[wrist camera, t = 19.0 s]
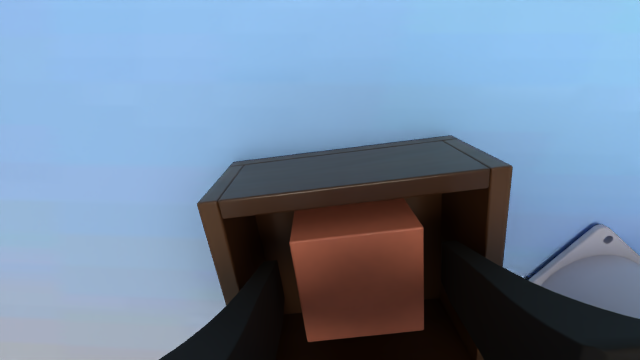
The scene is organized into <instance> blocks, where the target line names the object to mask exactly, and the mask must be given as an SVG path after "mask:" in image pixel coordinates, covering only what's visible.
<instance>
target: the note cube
mask: <svg viewBox="0 0 640 360" xmlns="http://www.w3.org/2000/svg"><path fill="white" fill-rule="evenodd" d="M289 244H290V249H291V255H292V260H293V266H294V271H295V277H296V282H297V287H298V293H299V298H300V304H301V309H302V315H303V320H304V326H305V331H306V337H307V341H308V342H314V341H323V340H333V339H343V338H353V337H362V336H372V335H382V334H392V333H402V332H411V331H421V330H424V228H423V226H422V225H421V223H420V222H419V220H418V219H417V217H416V216H415V214H414V213H413V211H412V210H411V208H410V207H409V205H408V204H407V202H406V201H405V199H404V198H400V199H391V200H382V201H374V202H365V203H357V204H348V205H340V206H331V207H322V208H314V209H305V210H297V211H294V217H293V223H292V229H291V236H290V242H289Z"/></svg>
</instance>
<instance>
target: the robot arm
mask: <svg viewBox="0 0 640 360" xmlns="http://www.w3.org/2000/svg"><path fill="white" fill-rule="evenodd" d="M605 237H606V238H605ZM604 238H605V239H604ZM441 282H442V284H443V287H444V289H445V292H446V294H447V296H448V298H449V301H450V303H451V305H452V306H453V308H454V310H455V311H456V313H457V315H458V316H459V318H460V320H461V322H462V323H463V325H464V327H465V328H466V330H467V332H468V333H469V335H470V337H471V338H472V340H473V342H474V343H475V345H476V347H477V348H478V350H479V352H480V354H481V355H482V357H483V359H484V360H640V256H639V255H638V254H637V253H636V252H635V251H633V250H632V249H631V248H630V247H629V246H628V245H627V244H626V243H625V242H624V241H623V240H622V239H621V238H620V237H618V236H617V235H616V234H615V233H614V232H613V231H612V230H611V229H610V228H608V227H606V226H604V225H601V224H599V225H596V226H594V227H592V228H591V229H590V230H589V231H587V232H586V233H585V234H584V235H582V236H581V237H580V238H579V239H578V240H576V241H575V242H574V243H573V244H572V245H570V246H569V247H568V248H567V249H565V250H564V251H563V252H562V253H561V254H559V255H558V256H557V257H556V258H554V259H553V260H552V261H551V262H550V263H548V264H547V265H546V266H545V267H543V268H542V269H541V270H540V271H539V272H537V273H536V274H535V275H534V276H533V277H531V278H530V279H529V280H526V279H524V278H522V277H520V276H518V275H516V274H514V273H512V272H510V271H508V270H507V269H505V268H503V267H501V266H499V265H497V264H496V263H494V262H492V261H490V260H489V259H487V258H485V257H484V256H482V255H480V254H479V253H477V252H475V251H474V250H472V249H470V248H469V247H467V246H465V245H463V244H462V243H460V242H458V241H447V242H442V257H441ZM284 300H285V297H284V292H283V287H282V282H281V277H280V272H279V267H278V262H277V260H272V261H263V263H262V264H261V265H260V266H259V267H258V269H257V270H256V271H255V273H254V274H253V275H252V276H251V278H250V279H249V280H248V281H247V283H246V284H245V285H244V286H243V288H242V289H241V290H240V291H239V292H238V294H237V295H236V296H235V297H234V298H233V299H232V300H231V301H230V302H229V303H228V305H227V306H226V307H225V308H224V309H223V310H222V311H221V312H220V313H219V314H218V315H217V316H215V317H214V318H213V319H212V320H211V321H210V322H209V323H208V324H207V325H205V326H204V327H203V328H202V329H200V330H199V331H198V332H197V333H195V334H194V335H193V336H192V337H190V338H189V339H188V340H187V341H185V342H184V343H183V344H181V345H180V346H178V347H177V348H176V349H174V350H173V351H171V352H170V353H168V354H167V355H165V356H164V357H162V358H161V359H159V360H276V355H277V350H278V345H279V339H280V334H281V329H282V323H283V315H284Z"/></svg>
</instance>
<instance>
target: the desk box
mask: <svg viewBox="0 0 640 360" xmlns="http://www.w3.org/2000/svg"><path fill="white" fill-rule="evenodd" d="M512 169H513V167H512V166H511V165H509V164H507V163H505V162H503V161H501V160H499V159H497V158H495V157H493V156H491V155H489V154H487V153H485V152H483V151H481V150H479V149H477V148H475V147H473V146H471V145H469V144H467V143H465V142H463V141H461V140H459V139H457V138H455V137H453V136H443V137H435V138H426V139H418V140H410V141H402V142H394V143H386V144H378V145H369V146H361V147H353V148H345V149H337V150H329V151H320V152H312V153H304V154H296V155H288V156H280V157H272V158H263V159H255V160H247V161H239V162H233V163H232V164H231V165H230V167H229V168H228V169H227V170H226V171H225V172H224V174H223V175H222V176H221V177H220V178H219V179H218V180H217V181H216V183H215V184H214V185H213V186H212V187H211V188H210V189H209V190H208V192H207V193H206V194H205V195H204V196H203V197H202V198H201V199H200V201H199V202H198V203H197V206H198V210H199V213H200V217H201V220H202V223H203V227H204V230H205V234H206V237H207V241H208V244H209V248H210V251H211V254H212V258H213V261H214V265H215V268H216V272H217V275H218V279H219V282H220V285H221V289H222V292H223V296H224V299H225V303H226V306H227V305H228V303H229V302H230V301H231V300H232V299H233V298H234V297H235V296H236V295H237V294H238V292H239V291H240V290H241V289H242V288H243V286H244V285H245V284H246V283H247V281H248V280H249V279H250V278H251V276H252V275H253V274H254V273H255V271H256V270H257V269H258V267H259V266H260V265H261V264H262V263H263V261H272V260H277V262H278V267H279V272H280V277H281V282H282V287H283V292H284V297H285V300H284V315H283V323H282V329H281V334H280V339H279V345H278V350H277V355H276V360H484V359H483V357H482V355H481V354H480V352H479V350H478V348H477V347H476V345H475V343H474V342H473V340H472V338H471V337H470V335H469V333H468V332H467V330H466V328H465V327H464V325H463V323H462V322H461V320H460V318H459V316H458V315H457V313H456V311H455V310H454V308H453V306H452V305H451V303H450V301H449V298H448V296H447V294H446V292H445V289H444V287H443V284H442V282H441V257H442V242H447V241H458V242H460V243H462V244H463V245H465V246H467V247H469V248H470V249H472V250H474V251H475V252H477V253H479V254H480V255H482V256H484V257H485V258H487V259H489V260H490V261H492V262H494V263H496V264H497V265H499V266H501V267H503V257H504V247H505V237H506V228H507V218H508V208H509V198H510V188H511V178H512ZM400 198H404V199H405V201H406V202H407V204H408V205H409V207H410V208H411V210H412V211H413V213H414V214H415V216H416V217H417V219H418V220H419V222H420V223H421V225H422V226H423V228H424V330H421V331H411V332H402V333H392V334H382V335H372V336H362V337H353V338H343V339H333V340H323V341H314V342H308V341H307V337H306V331H305V326H304V320H303V315H302V309H301V304H300V298H299V293H298V287H297V282H296V277H295V271H294V266H293V260H292V255H291V249H290V244H289V242H290V236H291V229H292V223H293V217H294V211H297V210H305V209H314V208H322V207H331V206H340V205H348V204H357V203H365V202H374V201H382V200H391V199H400Z"/></svg>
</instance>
